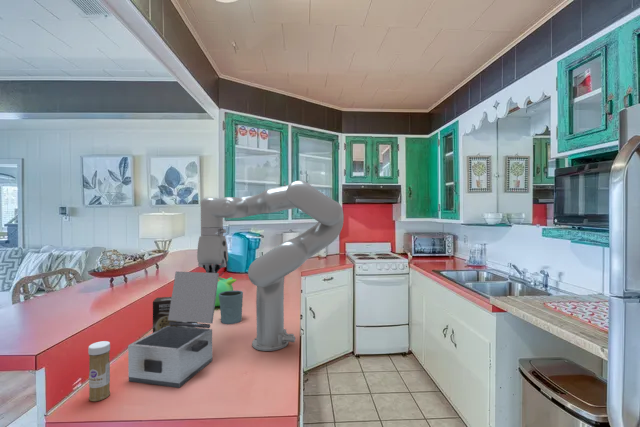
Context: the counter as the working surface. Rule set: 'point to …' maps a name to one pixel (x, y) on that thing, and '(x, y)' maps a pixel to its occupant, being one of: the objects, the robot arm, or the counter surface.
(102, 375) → the sprinkles bottle
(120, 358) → the counter surface
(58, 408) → the counter surface
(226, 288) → the green teapot
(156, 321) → the coffee box
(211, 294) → the lid
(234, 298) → the grey cup
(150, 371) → the cooker
